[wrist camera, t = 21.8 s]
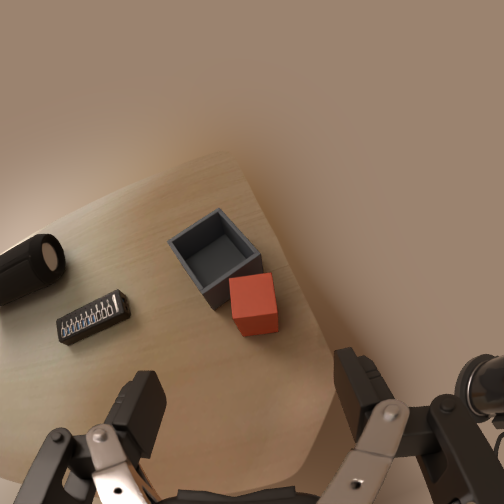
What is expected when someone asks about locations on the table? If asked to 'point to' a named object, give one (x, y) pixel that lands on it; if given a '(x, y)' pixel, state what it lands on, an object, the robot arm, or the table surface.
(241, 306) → the block
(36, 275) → the portable speaker
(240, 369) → the table surface
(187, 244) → the tub
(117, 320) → the multiport hub
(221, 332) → the table surface
